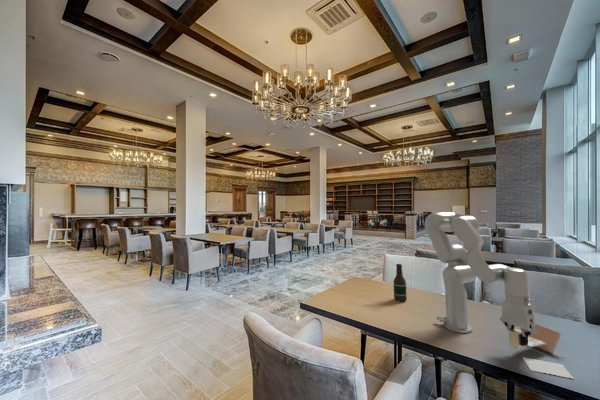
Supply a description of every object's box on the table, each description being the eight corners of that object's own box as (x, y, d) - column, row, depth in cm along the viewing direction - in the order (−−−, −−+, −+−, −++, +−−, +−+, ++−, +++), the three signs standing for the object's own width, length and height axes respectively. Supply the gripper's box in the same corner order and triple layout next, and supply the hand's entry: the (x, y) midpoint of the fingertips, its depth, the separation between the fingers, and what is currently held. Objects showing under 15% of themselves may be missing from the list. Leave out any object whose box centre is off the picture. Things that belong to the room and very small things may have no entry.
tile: (550, 351, 105) (558, 332, 107) (525, 340, 114) (533, 323, 116) (552, 354, 106) (561, 335, 108) (527, 343, 114) (535, 326, 116)
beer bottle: (394, 302, 167) (392, 265, 168) (394, 298, 174) (392, 262, 175) (406, 303, 164) (405, 265, 165) (406, 299, 172) (405, 263, 172)
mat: (530, 370, 96) (530, 369, 96) (522, 357, 104) (522, 357, 104) (574, 379, 91) (574, 378, 91) (562, 365, 99) (562, 364, 99)
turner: (521, 350, 103) (521, 335, 103) (506, 343, 108) (506, 329, 108) (546, 345, 107) (546, 331, 108) (531, 339, 113) (531, 325, 113)
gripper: (546, 304, 100) (548, 351, 99) (501, 291, 116) (503, 331, 115) (533, 306, 98) (535, 355, 97) (489, 293, 113) (491, 334, 113)
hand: (518, 342), depth 106 cm, fingers closed on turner, 3 cm apart
